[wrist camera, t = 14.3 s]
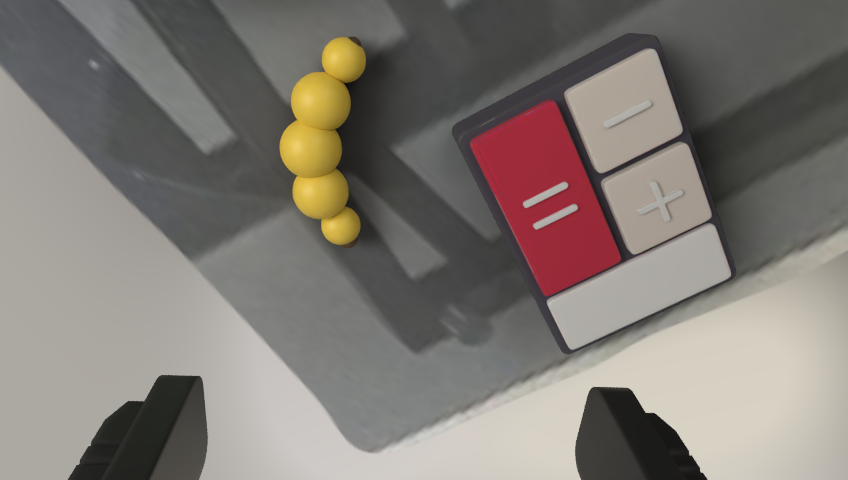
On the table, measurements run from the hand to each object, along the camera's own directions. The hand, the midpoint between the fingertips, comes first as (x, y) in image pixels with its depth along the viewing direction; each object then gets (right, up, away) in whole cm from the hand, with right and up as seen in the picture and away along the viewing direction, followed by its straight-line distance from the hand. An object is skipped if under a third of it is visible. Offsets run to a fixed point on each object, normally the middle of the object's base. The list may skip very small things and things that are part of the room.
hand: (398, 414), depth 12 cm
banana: (-5, +9, +20) cm, 22 cm away
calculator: (+10, +7, +22) cm, 25 cm away
